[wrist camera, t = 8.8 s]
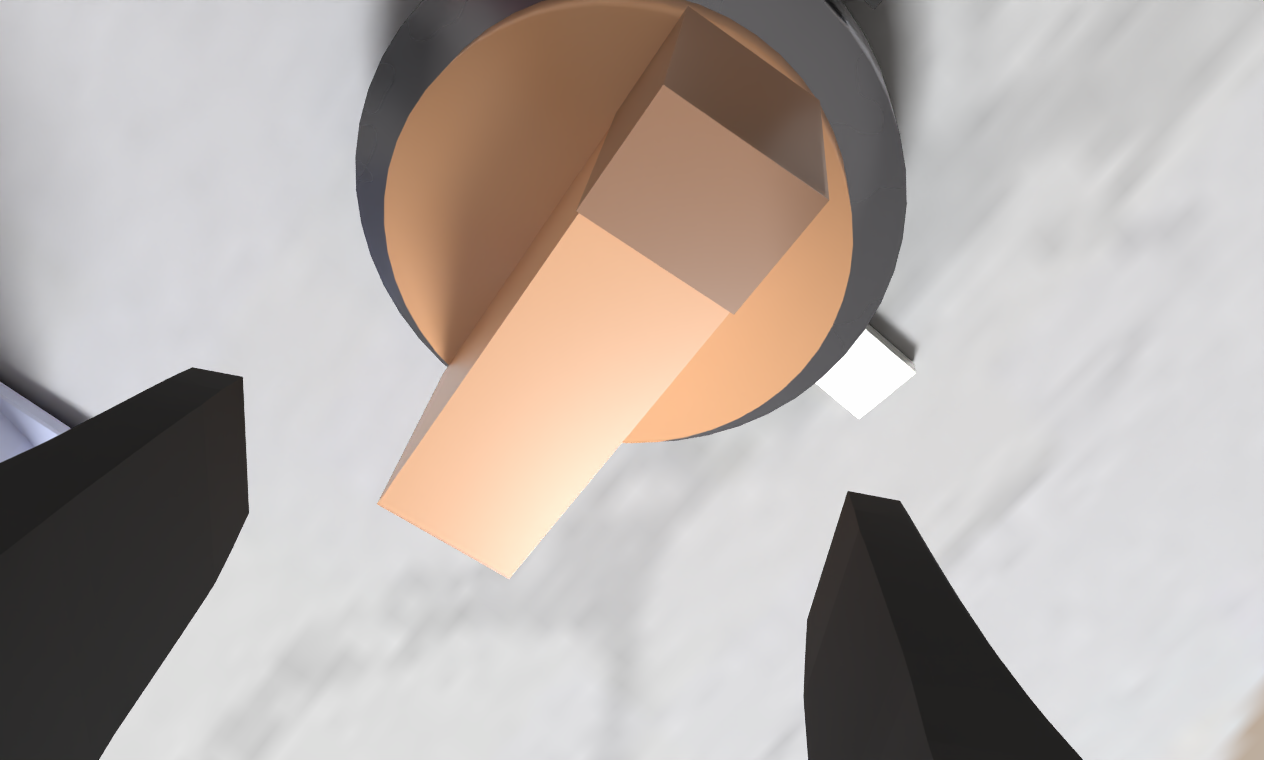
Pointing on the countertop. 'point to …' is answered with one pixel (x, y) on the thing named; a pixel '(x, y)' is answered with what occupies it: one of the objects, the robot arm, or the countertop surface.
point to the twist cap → (602, 253)
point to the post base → (833, 71)
